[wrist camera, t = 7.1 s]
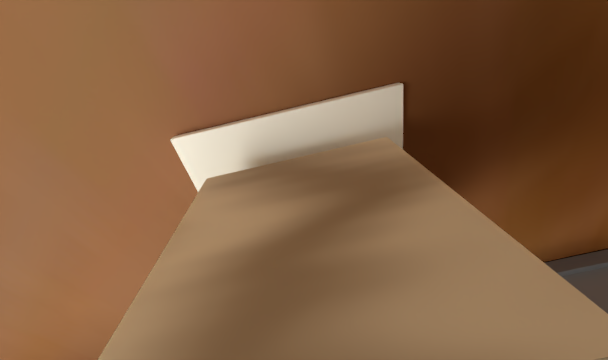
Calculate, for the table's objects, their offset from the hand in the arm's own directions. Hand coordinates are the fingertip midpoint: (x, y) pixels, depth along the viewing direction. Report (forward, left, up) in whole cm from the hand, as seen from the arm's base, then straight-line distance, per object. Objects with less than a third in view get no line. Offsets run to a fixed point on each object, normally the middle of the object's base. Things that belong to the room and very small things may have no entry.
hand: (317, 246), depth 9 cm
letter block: (0, 0, -1) cm, 1 cm away
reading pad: (0, 0, -3) cm, 3 cm away
